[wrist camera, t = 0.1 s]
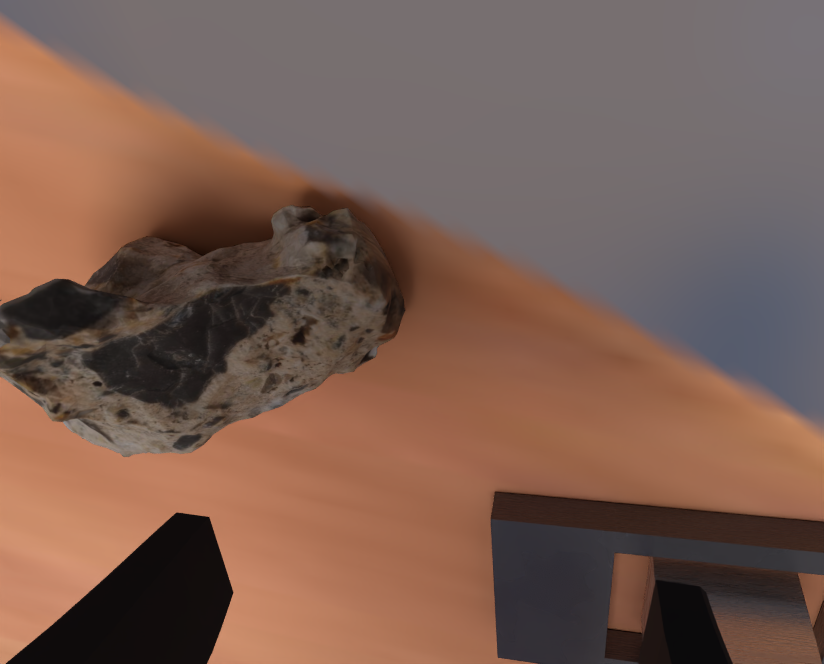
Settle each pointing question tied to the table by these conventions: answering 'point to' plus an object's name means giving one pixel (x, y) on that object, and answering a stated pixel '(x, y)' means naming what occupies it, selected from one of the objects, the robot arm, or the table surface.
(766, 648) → the grey upright block
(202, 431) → the rock
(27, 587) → the table surface
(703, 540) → the rail plate
